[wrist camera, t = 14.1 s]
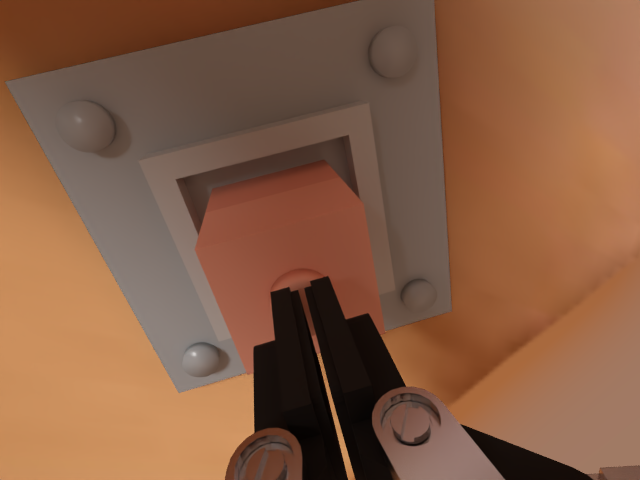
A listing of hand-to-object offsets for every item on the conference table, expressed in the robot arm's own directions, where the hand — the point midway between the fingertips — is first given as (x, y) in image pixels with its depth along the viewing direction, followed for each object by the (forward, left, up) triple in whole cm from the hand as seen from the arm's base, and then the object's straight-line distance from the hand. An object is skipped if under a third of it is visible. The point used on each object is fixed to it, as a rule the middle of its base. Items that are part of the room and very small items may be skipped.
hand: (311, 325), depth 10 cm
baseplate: (0, 0, -8) cm, 8 cm away
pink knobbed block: (0, 0, -7) cm, 7 cm away
